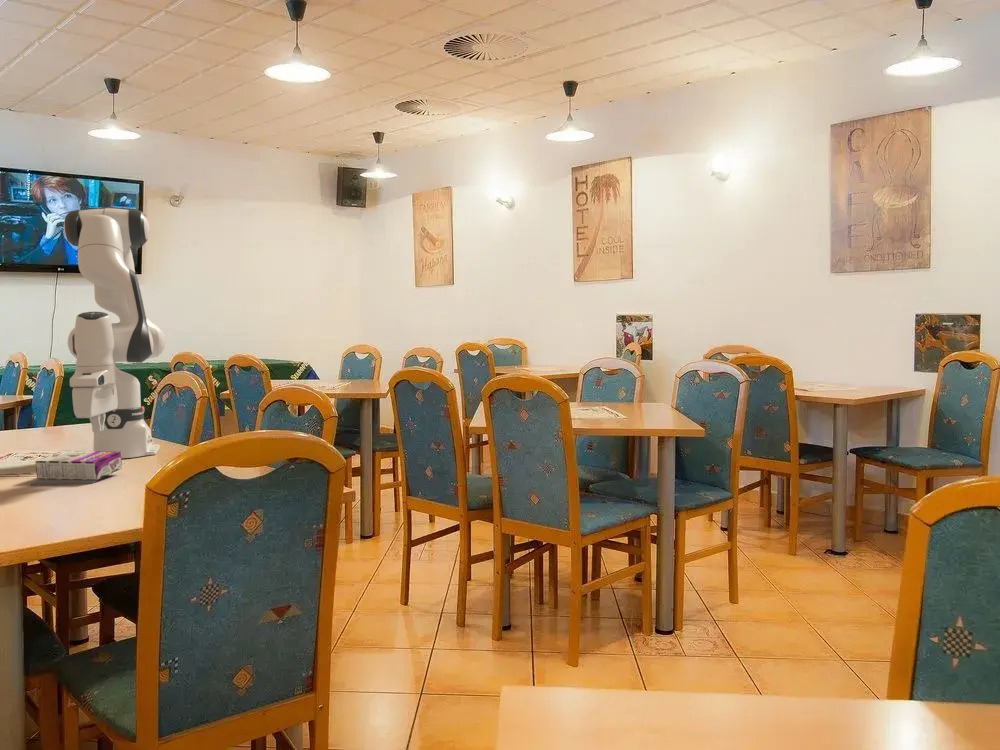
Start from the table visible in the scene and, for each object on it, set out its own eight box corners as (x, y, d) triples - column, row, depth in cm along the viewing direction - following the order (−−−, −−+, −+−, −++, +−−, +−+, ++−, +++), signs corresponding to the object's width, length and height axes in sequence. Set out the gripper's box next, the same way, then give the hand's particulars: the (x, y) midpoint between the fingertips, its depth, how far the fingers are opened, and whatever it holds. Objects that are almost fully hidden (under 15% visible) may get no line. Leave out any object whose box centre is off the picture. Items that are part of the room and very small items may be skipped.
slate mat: (49, 476, 211) (49, 474, 211) (108, 474, 213) (108, 472, 213) (30, 485, 200) (30, 482, 200) (92, 483, 202) (92, 481, 202)
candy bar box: (123, 469, 214) (65, 467, 216) (121, 451, 213) (63, 449, 215) (96, 481, 203) (35, 479, 205) (94, 462, 202) (33, 460, 204)
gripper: (97, 374, 215) (100, 426, 217) (66, 380, 195) (69, 438, 196) (122, 373, 216) (125, 425, 217) (94, 379, 196) (96, 437, 197)
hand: (98, 431), depth 207 cm, fingers closed
